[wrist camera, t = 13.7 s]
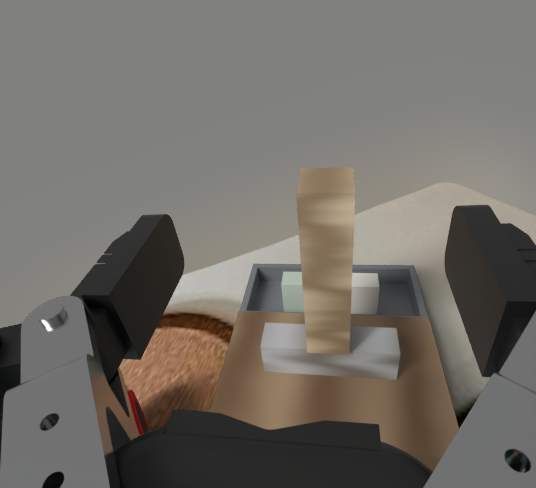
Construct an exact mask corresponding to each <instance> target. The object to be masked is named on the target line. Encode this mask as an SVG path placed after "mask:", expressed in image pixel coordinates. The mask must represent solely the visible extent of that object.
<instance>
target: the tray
mask: <svg viewBox="0 0 536 488" xmlns="http://www.w3.org/2000/svg"><path fill="white" fill-rule="evenodd" d="M283 272H302V270H301V264H253V267H252V271H251V274H250V278H249V281H248V284H247V288H246V291H245V295H244V298H243V302H242V305H241V309H240V311H251V312H281V313H303V312H284V308H283V298H282V288H281V283H282V277H283ZM352 273H378V280H379V298H378V310H377V315H370V316H400V317H428V315H427V311H426V308H425V304H424V300H423V297H422V293H421V289H420V286H419V282H418V278H417V274H416V271H415V267H414V266H404V265H352ZM351 315H363V314H351Z"/></svg>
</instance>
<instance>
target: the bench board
mask: <svg viewBox="0 0 536 488" xmlns="http://www.w3.org/2000/svg"><path fill="white" fill-rule="evenodd" d="M265 323H288V324H305V315H304V313H281V312H251V311H239V313H238V316H237V320H236V323H235V326H234V330H233V333H232V337H231V340H230V344H229V347H228V350H227V354H226V357H225V361H224V364H223V367H222V371H221V374H220V378H219V381H218V385H217V388H216V391H215V395H214V398H213V402H212V405H211V409H210V412H214V413H221V414H224V415H227V416H230V417H233V418H235V419H238V420H241V421H244V422H247V423H249V424H252V425H255V426H258V427H261V428H263V429H268V430H273V429H279V428H285V427H290V426H296V425H301V424H307V423H312V422H318V421H323V420H327V421H341V422H355V423H369V424H379V429H380V439H381V441H382V442H384V443H387V444H390V445H393V446H395V447H397V448H399V449H401V450H403V451H405V452H407V453H408V454H410V455H412V456H413V457H415V458H417V459H418V460H420V461H421V462H422V463H423V464H425V465H426V466H427V467H429V468H430V469H431V470H432V471H434V469H435V468H436V466H437V465H438V463H439V461H440V460H441V458H442V456H443V455H444V453H445V451H446V450H447V448H448V447H449V445H450V443H451V442H452V440H453V438H454V437H455V435H456V433H457V432H458V430H459V426H458V423H457V419H456V415H455V412H454V408H453V404H452V401H451V397H450V393H449V390H448V386H447V382H446V379H445V375H444V371H443V368H442V364H441V360H440V357H439V353H438V349H437V346H436V342H435V338H434V335H433V331H432V327H431V324H430V320H429V317H400V316H370V315H351V323H350V326H359V327H383V328H396V329H397V335H398V342H399V348H400V361H399V367H398V374H397V380H387V379H372V378H357V377H341V376H326V375H311V374H296V373H281V372H265V371H264V365H263V360H262V354H261V348H260V346H261V341H262V336H263V331H264V326H265Z"/></svg>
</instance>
